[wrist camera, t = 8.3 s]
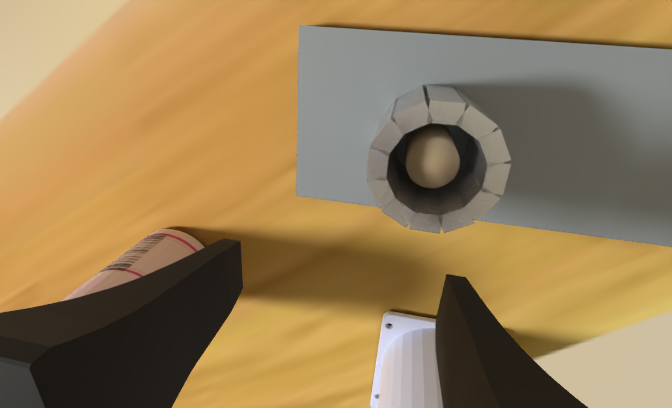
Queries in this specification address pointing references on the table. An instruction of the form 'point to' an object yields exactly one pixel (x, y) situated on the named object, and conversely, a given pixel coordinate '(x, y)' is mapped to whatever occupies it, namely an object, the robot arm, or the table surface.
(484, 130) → the gray hollow cylinder
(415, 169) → the post
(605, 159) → the board
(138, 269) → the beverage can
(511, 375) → the robot arm
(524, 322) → the table surface
